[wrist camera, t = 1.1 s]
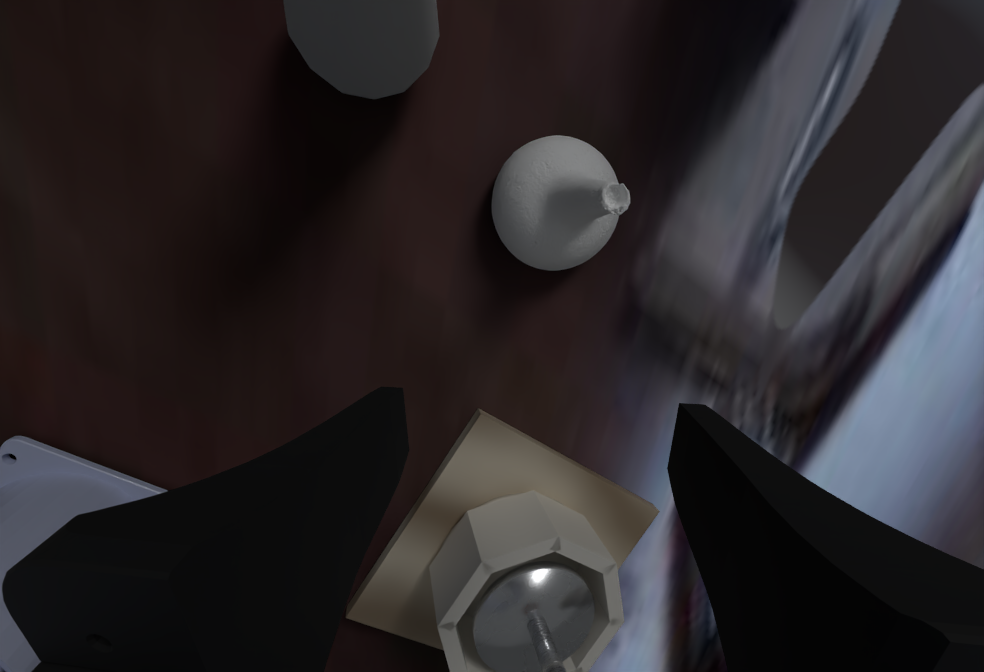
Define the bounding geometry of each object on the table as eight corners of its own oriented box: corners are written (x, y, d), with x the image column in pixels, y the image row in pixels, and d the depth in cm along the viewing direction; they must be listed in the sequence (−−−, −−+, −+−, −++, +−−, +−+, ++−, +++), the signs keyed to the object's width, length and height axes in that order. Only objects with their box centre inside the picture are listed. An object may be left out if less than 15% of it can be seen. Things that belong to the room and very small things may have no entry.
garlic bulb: (610, 167, 24) (719, 121, 17) (582, 282, 25) (675, 288, 17) (500, 130, 23) (565, 60, 15) (473, 254, 23) (522, 247, 15)
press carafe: (530, 644, 29) (555, 716, 25) (402, 598, 26) (406, 671, 22) (613, 527, 28) (653, 580, 24) (492, 465, 25) (514, 514, 21)
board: (534, 670, 31) (537, 681, 30) (346, 606, 26) (345, 617, 26) (652, 504, 30) (659, 511, 29) (477, 408, 25) (481, 413, 24)
